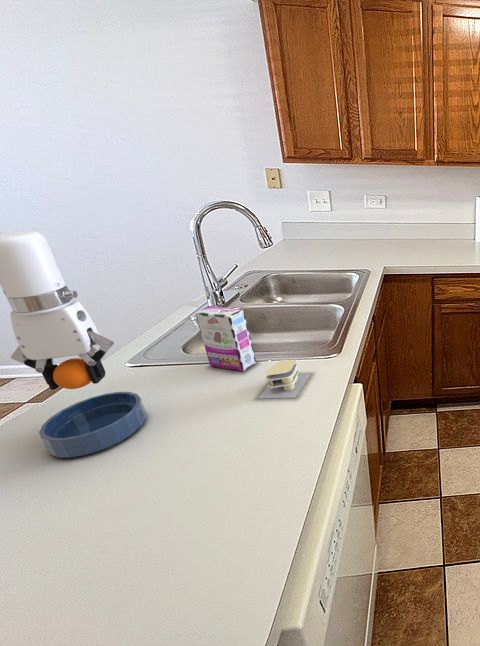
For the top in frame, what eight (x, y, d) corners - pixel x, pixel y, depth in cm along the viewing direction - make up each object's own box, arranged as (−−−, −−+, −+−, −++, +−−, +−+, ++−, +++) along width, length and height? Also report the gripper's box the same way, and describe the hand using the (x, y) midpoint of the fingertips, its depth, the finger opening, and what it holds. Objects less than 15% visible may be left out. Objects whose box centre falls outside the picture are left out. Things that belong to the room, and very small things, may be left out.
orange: (52, 397, 76) (39, 371, 74) (71, 380, 81) (59, 355, 79) (90, 392, 78) (78, 365, 75) (107, 375, 83) (96, 350, 81)
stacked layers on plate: (276, 375, 104) (272, 357, 102) (310, 374, 104) (307, 356, 102) (257, 398, 95) (253, 379, 93) (295, 397, 95) (291, 378, 93)
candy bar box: (257, 362, 110) (244, 308, 104) (243, 372, 105) (229, 316, 99) (224, 357, 112) (209, 304, 106) (209, 367, 108) (193, 312, 102)
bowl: (29, 468, 75) (18, 447, 73) (78, 417, 89) (69, 398, 87) (126, 450, 79) (118, 430, 77) (159, 404, 93) (152, 386, 91)
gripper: (109, 287, 78) (139, 366, 85) (-4, 298, 73) (38, 380, 80) (87, 301, 71) (121, 385, 78) (-39, 314, 67) (10, 402, 73)
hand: (78, 382), depth 79 cm, fingers closed on orange, 6 cm apart
